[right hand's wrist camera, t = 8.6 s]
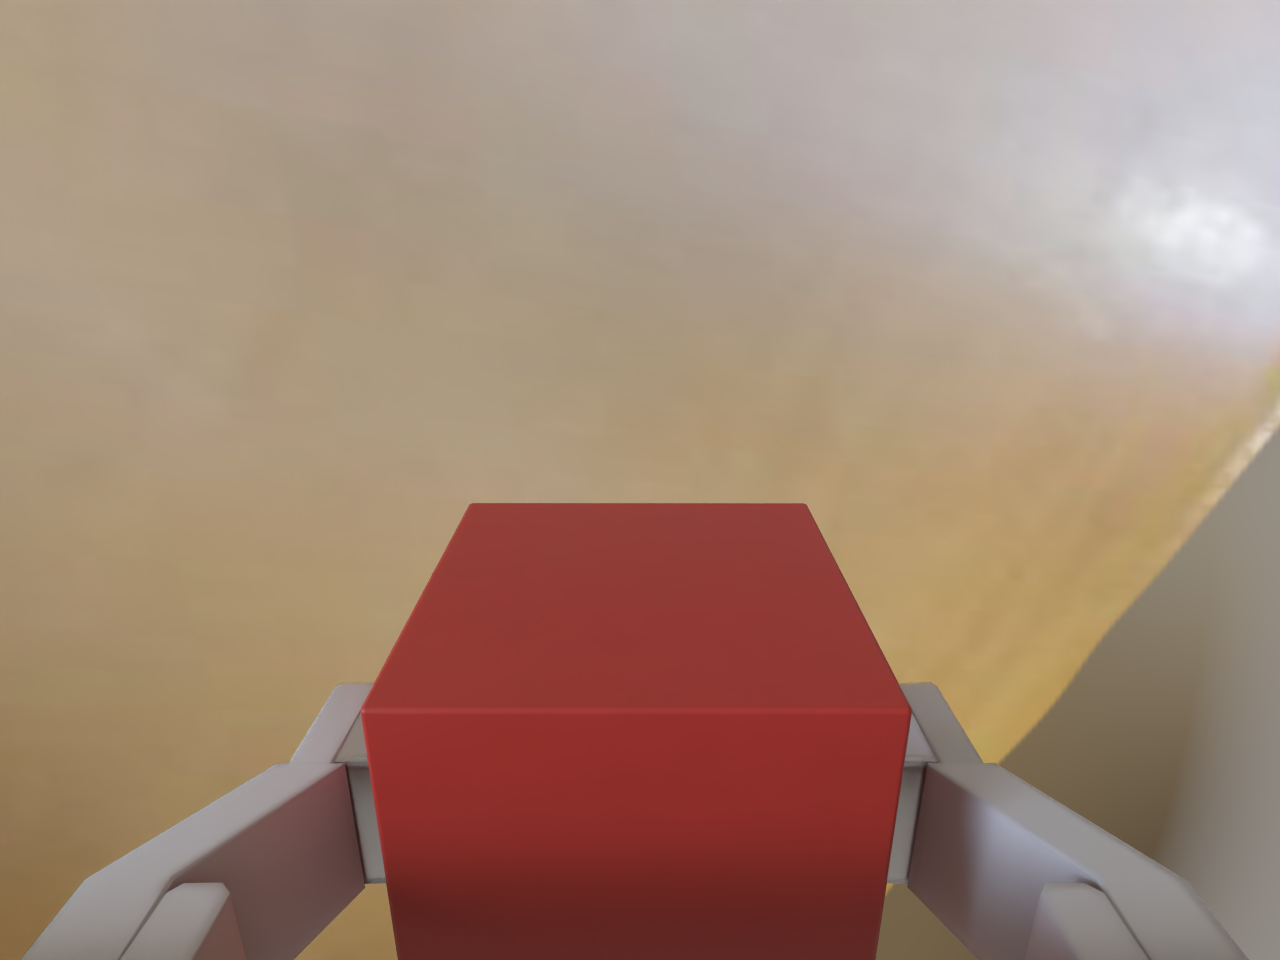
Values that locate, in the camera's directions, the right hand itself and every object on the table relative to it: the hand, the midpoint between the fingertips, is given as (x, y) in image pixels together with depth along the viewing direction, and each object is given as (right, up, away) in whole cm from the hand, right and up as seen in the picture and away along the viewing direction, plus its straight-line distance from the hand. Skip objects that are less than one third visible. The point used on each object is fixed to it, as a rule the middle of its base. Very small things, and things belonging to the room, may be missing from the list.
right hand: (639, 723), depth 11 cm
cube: (0, +1, +2) cm, 2 cm away
